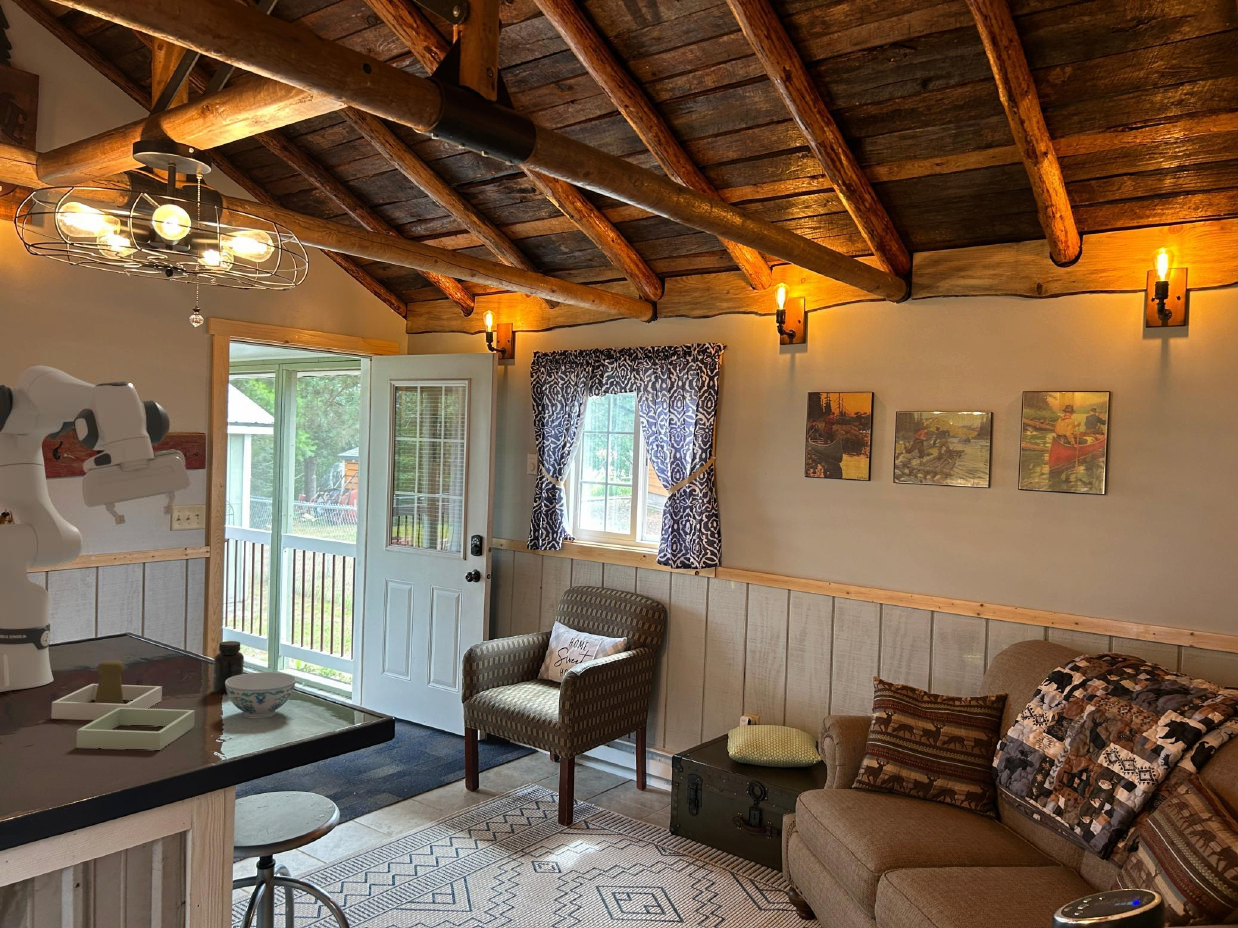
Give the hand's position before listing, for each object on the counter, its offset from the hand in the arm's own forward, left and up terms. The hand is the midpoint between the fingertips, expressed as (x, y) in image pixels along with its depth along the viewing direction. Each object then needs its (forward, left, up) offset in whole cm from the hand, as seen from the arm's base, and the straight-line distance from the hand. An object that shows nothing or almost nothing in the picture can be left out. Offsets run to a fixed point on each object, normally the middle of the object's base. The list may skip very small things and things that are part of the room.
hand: (145, 519), depth 191 cm
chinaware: (+21, +13, -44) cm, 51 cm away
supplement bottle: (+7, +31, -44) cm, 55 cm away
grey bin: (-12, +12, -44) cm, 47 cm away
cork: (-12, +12, -44) cm, 47 cm away
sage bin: (+3, -6, -44) cm, 45 cm away
